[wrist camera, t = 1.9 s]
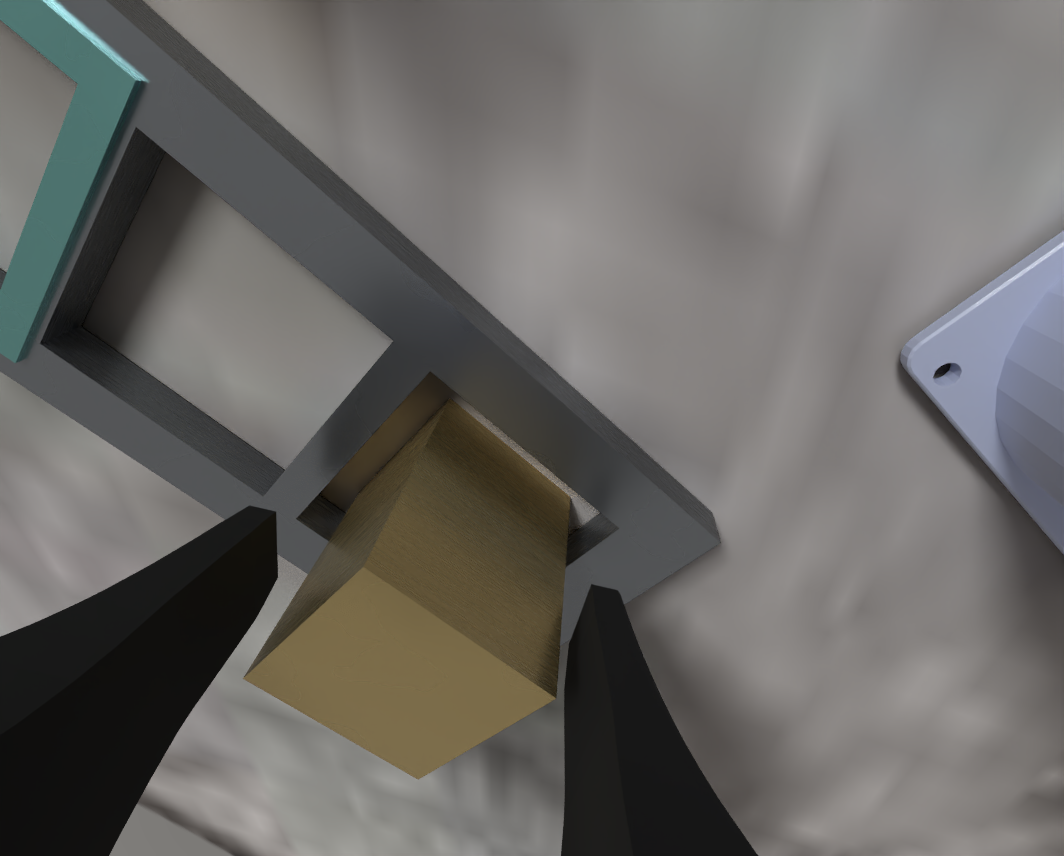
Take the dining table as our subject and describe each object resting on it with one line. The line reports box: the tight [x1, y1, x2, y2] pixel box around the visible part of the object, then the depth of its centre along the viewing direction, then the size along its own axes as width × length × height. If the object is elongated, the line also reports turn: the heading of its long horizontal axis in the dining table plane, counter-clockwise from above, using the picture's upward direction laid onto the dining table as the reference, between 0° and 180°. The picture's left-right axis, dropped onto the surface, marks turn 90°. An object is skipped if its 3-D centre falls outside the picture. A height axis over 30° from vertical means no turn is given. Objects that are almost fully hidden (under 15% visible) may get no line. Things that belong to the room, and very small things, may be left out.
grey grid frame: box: [0, 0, 721, 646], centre depth 13 cm, size 24×9×1 cm, turn 48°
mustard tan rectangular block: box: [243, 398, 570, 779], centre depth 13 cm, size 4×4×6 cm
